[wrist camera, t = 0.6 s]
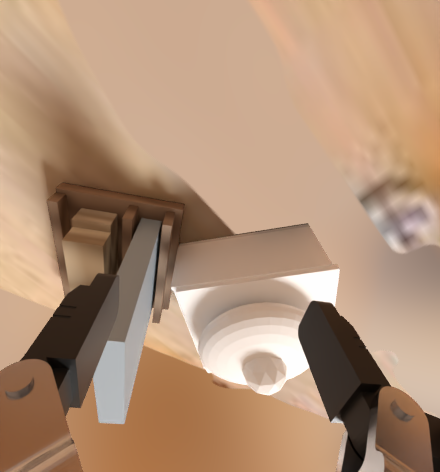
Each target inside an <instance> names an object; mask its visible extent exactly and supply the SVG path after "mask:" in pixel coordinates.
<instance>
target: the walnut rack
mask: <svg viewBox="0 0 440 472" xmlns="http://www.w3.org/2000/svg"><path fill="white" fill-rule="evenodd" d="M47 204H48V210H49V215H50V220H51V226H52V231H53V236H54V242H55V247H56V252H57V258H58V263H59V269H60V274H61V279H62V285H63V290H64V295H65V297H66V295H67V294H68V293H69V292H70V288H69V282H68V276H67V270H66V264H65V258H64V252H63V246H62V239H63V238H64V237H65V235H66V234H67V233H68V232H69V231H70V229H71V228H72V227H73V225H72V218H73V217H74V216H75V215H76V214H77V212H78V211H79V210H80V209H81V208H85V209H91V210H97V211H103V212H109V213H115V214H117V225H118V270H119V268H120V266H121V263H122V261H123V259H124V257H125V254H126V252H127V250H128V248H129V245H130V243H131V241H132V239H133V236H134V234H135V232H136V229H137V227H138V225H139V223H140V220H141V218H145V219H152V220H158V221H162V226H161V236H160V246H159V256H158V266H157V276H156V286H155V296H154V302H153V306H152V308H154V312H153V322H152V323H160V318H161V313H162V309H168V308H169V302H170V295H171V283H172V278H173V272H174V266H175V261H176V255H177V249H178V243H179V236H180V229H181V223H182V216H183V210H184V204H180V203H175V202H169V201H163V200H157V199H152V198H146V197H140V196H135V195H129V194H123V193H118V192H112V191H106V190H101V189H95V188H89V187H83V186H78V185H72V184H66V183H62V184H60V185H59V186H58V187H57V188H56V193H55V194H54V195H53V196H52V197H50V198H49V199H48V200H47Z"/></svg>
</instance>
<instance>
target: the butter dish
mask: <svg viewBox="0 0 440 472" xmlns="http://www.w3.org/2000/svg"><path fill="white" fill-rule="evenodd" d="M339 272H340V269H339V267H338V265H337V264H334V265H332V263H331V261H330V260H329V258H328V256H327V254H326V253H325V251H324V250H323V248H322V246H321V244H320V243H319V241H318V240H317V238H316V236H315V234H314V233H313V231H312V229H311V228H310V226H309V225H308V223H306V224H299V225H293V226H287V227H280V228H274V229H267V230H261V231H255V232H248V233H242V234H235V235H233V236H227V237H221V238H214V239H208V240H201V241H195V242H188V243H182V244H179V247H178V250H177V255H176V261H175V266H174V272H173V278H172V283H171V289H172V290H173V291H174V293H175V296H176V298H177V301H178V303H179V306H180V308H181V311H182V313H183V316H184V319H185V321H186V324H187V326H188V329H189V331H190V334H191V336H192V339H193V341H194V344H195V346H196V349H197V351H198V354H199V356H200V359H201V362H202V364H203V368H206V371H207V373H213V374H215V375H216V376H218V377H220V378H222V379H225V380H227V381H230V382H234V383H237V384H244V385H248V386H249V387H250V388H251V389H253V390H254V391H255V392H256V393H260V394H265V395H271V394H273V393H275V392H277V391H280V390H281V388H282V386H283V385H284V383H285V382H286V380H288V379H291V378H293V377H295V376H297V375H299V374H301V373H302V372H304V371H305V370H307V369H308V368H309V365H308V362H307V359H306V357H305V354H304V352H303V349H302V346H301V344H300V341H299V338H298V327H299V324H300V322H301V320H302V318H303V316H304V314H305V312H306V310H307V308H308V306H309V304H310V302H311V301H314V300H315V301H323V302H330V303H332V304H333V305H334V307H335V301H336V293H337V286H338V279H339Z"/></svg>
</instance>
